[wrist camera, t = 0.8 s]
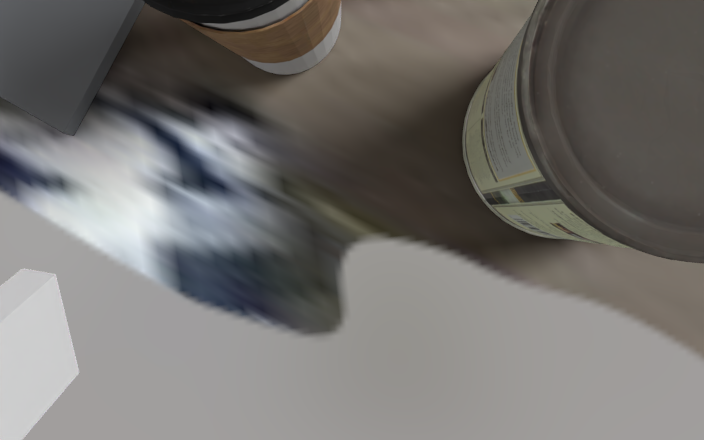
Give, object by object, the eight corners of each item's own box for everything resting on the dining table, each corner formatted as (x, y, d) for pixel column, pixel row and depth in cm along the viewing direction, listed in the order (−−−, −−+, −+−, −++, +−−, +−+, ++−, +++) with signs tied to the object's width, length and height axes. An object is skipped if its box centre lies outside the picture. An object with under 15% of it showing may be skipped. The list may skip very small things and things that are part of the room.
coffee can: (651, 26, 30) (890, -142, 16) (674, 227, 30) (931, 241, 16) (448, 52, 30) (501, -85, 16) (471, 249, 30) (543, 282, 16)
